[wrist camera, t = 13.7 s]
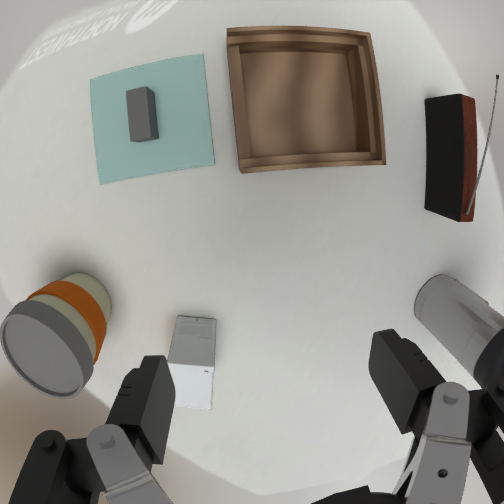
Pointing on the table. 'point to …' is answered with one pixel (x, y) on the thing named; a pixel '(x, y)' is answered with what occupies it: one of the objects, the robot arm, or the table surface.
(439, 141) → the radio
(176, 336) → the small box
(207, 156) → the cover plate
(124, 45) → the table surface
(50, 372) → the reusable coffee cup
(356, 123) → the walnut box
